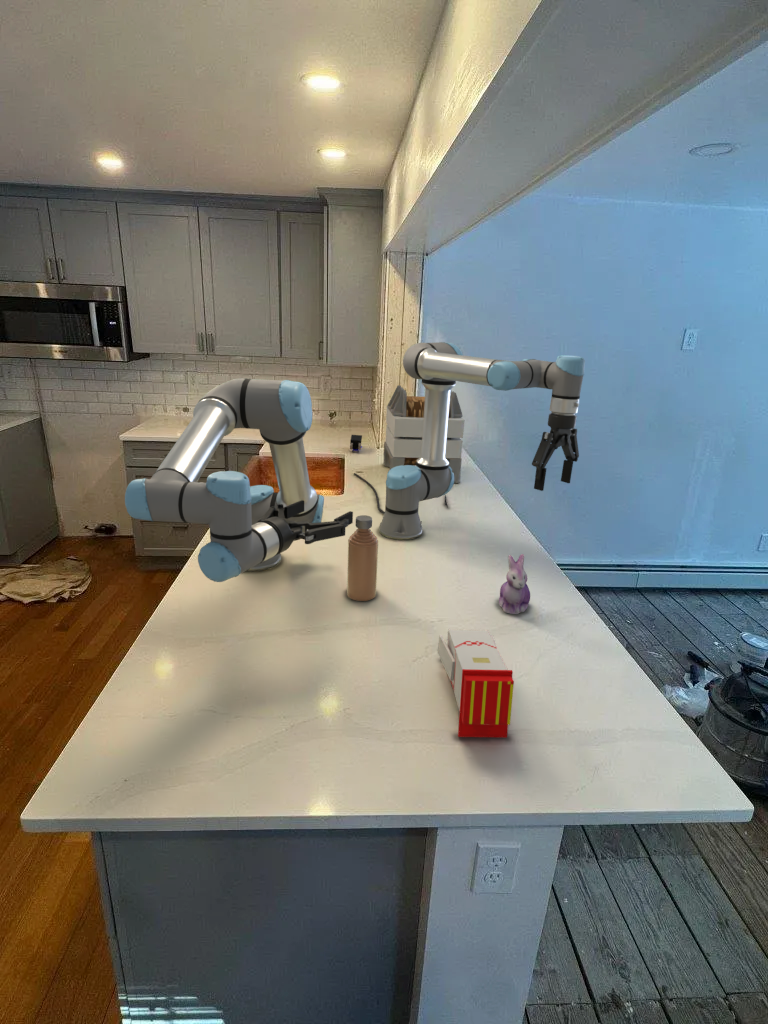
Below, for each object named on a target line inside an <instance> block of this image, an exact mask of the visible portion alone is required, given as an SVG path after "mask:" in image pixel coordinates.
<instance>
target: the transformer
mask: <svg viewBox="0 0 768 1024" xmlns="http://www.w3.org/2000/svg"><path fill="white" fill-rule="evenodd" d="M407 394H408V393H407V390H406V389H404V388H403V387H402V385H399V384H398V385H397V386H396V388H395V390H394V392H393V394H392V395H391V398H390V400H389V402H388V404H387V405H386V413H385V414H386V415H385V423H386V428H385V438H384V442H383V466H384V467H388V468H389V470H390V469H392V468H394V467H396V466H401V465H404V466H405V465H413V466H416V461H417V459H418V458H420V457H421V449H422V434H423V419H424V404H425V396H415V395H414V396H413V395H412V396H411V395H407ZM464 429H465V419H464V418H463V411H462V408H461V405H460V402H459V398H458V395H457V392H455V391H453V390H451V392H450V404H449V416H448V428H447V441H446V453H445V458H446V459H447V461H448V462H449V466H450V467H451V469H452V473H454V484H455V483H456V484H459V483H461V472H462V461H463V460H462V453H463V442H464V441H463V440H462V439H463V438H464V431H465V430H464Z"/></svg>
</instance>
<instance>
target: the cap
mask: <svg viewBox="0 0 768 1024" xmlns="http://www.w3.org/2000/svg"><path fill="white" fill-rule="evenodd" d="M355 527H356V528H357V529H358V528H359V529H371V528H372V527H373V517H372V516H370V515H364V514H362V515H357V516H356V517H355Z"/></svg>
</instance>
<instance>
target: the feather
mask: <svg viewBox="0 0 768 1024" xmlns="http://www.w3.org/2000/svg"><path fill="white" fill-rule="evenodd" d="M446 495H447V494H445V495H444V506H446V508H447V509H448V507H449V506H448V500H447V496H446Z"/></svg>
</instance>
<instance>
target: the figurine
mask: <svg viewBox="0 0 768 1024" xmlns="http://www.w3.org/2000/svg"><path fill="white" fill-rule="evenodd" d="M507 561H508V562H507V563H508V571H507V573H506V576H505V578H506V581H505V582H504V583H503V584H501V586H500V588H499V589H500V590H499V598H498V605H499V607H500V608H501V609H502V611H503V612H504V613H507V614H511V615H518V614H519V613H525V612H526V611H527V609H528V607H529V604H530V601H531V591H530V588H529V585H528V584H527V582H528V575H527V571H526V570H525V568H524V567H525V566H524V563H525V554H524V553H521V554H520V555H519V557H518V558H517V560H515V559H514V557H513V556H512V555H511V554H509V555H508V556H507Z"/></svg>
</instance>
